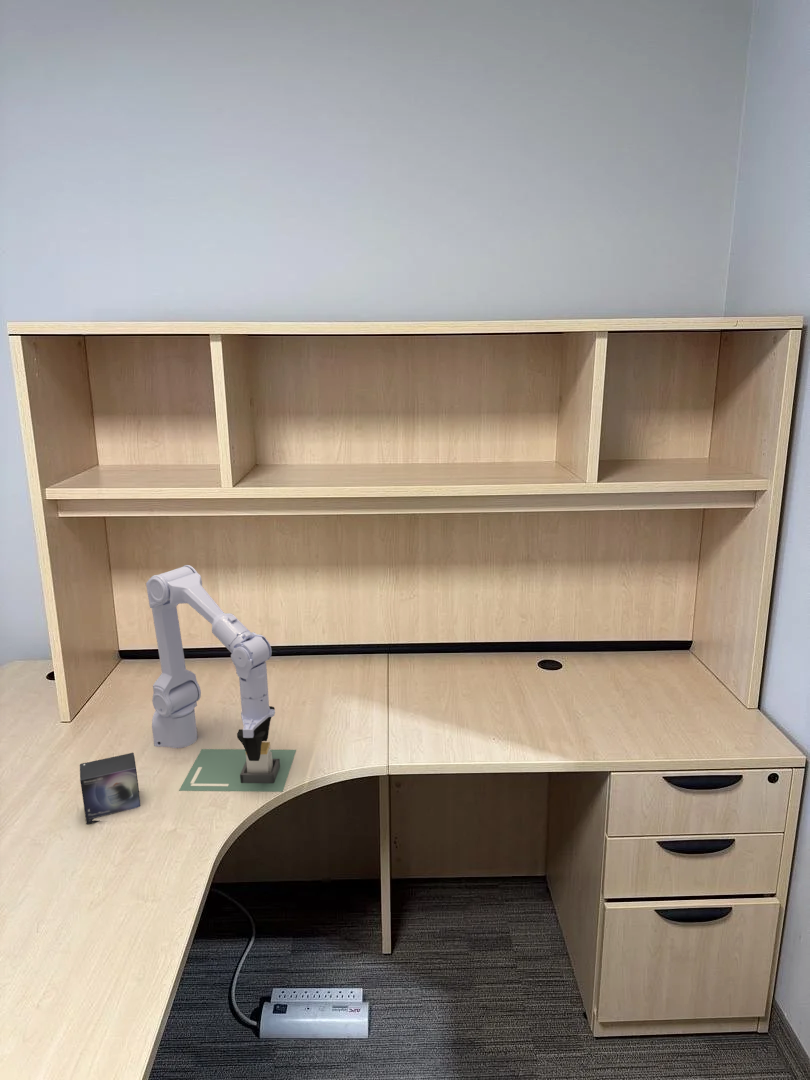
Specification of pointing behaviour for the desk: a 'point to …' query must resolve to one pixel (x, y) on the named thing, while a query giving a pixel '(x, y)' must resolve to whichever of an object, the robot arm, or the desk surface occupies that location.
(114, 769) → the small box
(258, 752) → the robot arm
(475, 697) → the desk surface
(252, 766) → the plug
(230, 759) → the board
